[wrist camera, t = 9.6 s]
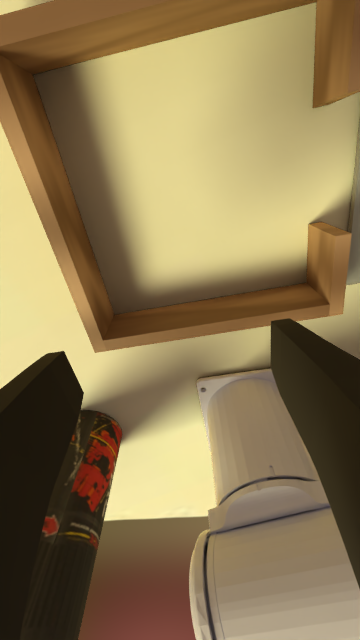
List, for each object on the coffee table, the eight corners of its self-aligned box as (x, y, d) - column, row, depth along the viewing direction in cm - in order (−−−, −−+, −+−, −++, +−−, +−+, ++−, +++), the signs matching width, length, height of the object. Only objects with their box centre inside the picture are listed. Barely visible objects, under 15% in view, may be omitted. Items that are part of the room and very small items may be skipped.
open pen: (317, 291, 20) (342, 314, 17) (107, 325, 21) (95, 352, 18) (336, -29, 12) (388, -94, 9) (10, 57, 14) (-39, 26, 11)
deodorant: (50, 414, 26) (-84, 671, 13) (112, 406, 25) (38, 665, 12) (73, 454, 29) (-18, 698, 15) (129, 448, 28) (84, 695, 15)
